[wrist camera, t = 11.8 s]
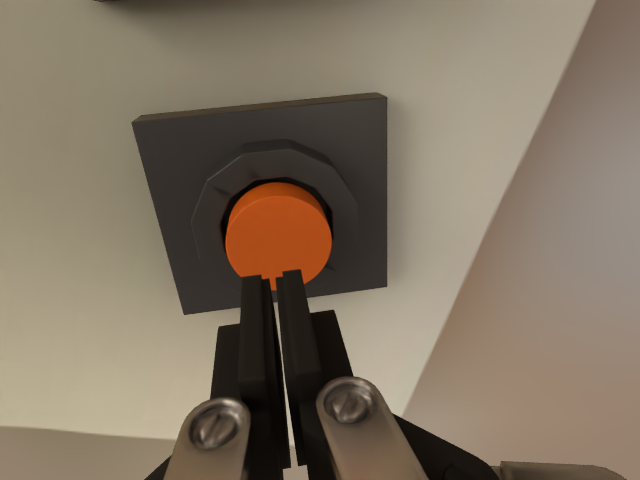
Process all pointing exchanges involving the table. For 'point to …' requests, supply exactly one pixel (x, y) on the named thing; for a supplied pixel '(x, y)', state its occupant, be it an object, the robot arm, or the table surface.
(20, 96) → the table surface
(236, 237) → the power button
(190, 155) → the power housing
